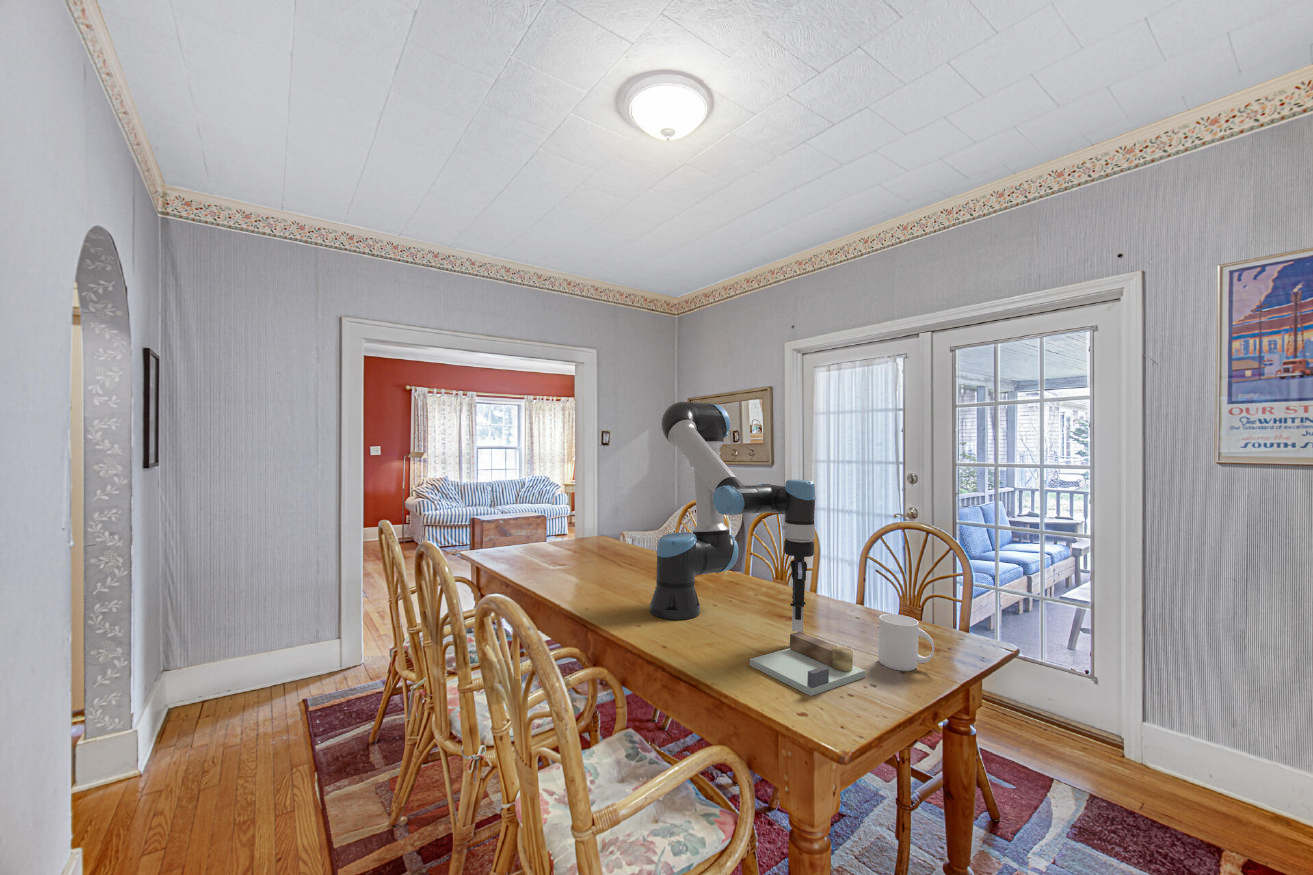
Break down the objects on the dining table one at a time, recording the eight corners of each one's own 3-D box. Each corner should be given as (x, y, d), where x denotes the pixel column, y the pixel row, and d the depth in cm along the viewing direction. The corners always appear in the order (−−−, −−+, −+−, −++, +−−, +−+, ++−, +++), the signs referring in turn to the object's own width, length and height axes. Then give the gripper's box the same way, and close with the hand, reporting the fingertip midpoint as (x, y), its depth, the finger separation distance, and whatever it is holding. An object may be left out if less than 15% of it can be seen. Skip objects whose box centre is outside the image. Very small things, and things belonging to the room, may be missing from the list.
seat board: (749, 665, 128) (749, 658, 128) (802, 650, 138) (802, 644, 138) (810, 695, 113) (811, 688, 113) (865, 677, 123) (865, 670, 123)
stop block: (807, 685, 115) (807, 671, 115) (823, 680, 117) (823, 666, 117) (812, 688, 114) (813, 673, 114) (828, 682, 116) (828, 668, 116)
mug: (932, 678, 123) (933, 630, 123) (875, 666, 130) (876, 620, 130) (935, 665, 131) (936, 620, 131) (881, 654, 137) (882, 611, 137)
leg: (788, 648, 135) (788, 633, 135) (800, 645, 137) (801, 630, 137) (844, 672, 121) (844, 655, 121) (856, 668, 124) (857, 651, 124)
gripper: (783, 534, 150) (781, 621, 150) (785, 542, 137) (783, 638, 137) (812, 536, 149) (810, 624, 148) (816, 544, 136) (814, 640, 135)
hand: (797, 630), depth 143 cm, fingers closed
